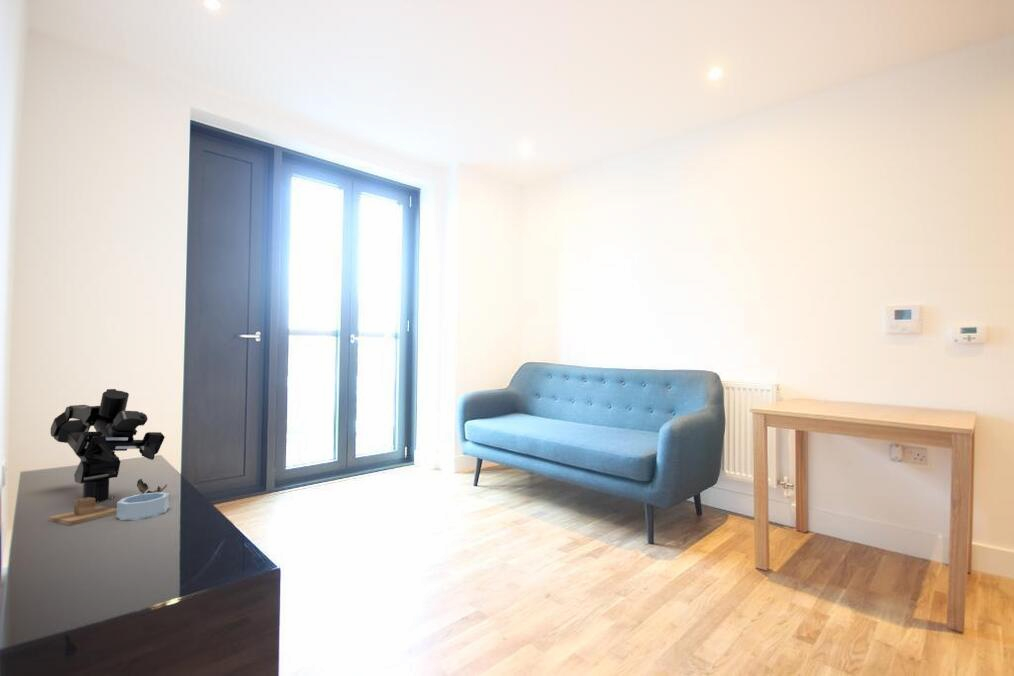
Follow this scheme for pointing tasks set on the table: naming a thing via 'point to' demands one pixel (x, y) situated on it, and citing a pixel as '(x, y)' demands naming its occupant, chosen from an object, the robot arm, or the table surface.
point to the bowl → (142, 506)
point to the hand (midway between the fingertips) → (133, 458)
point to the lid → (83, 512)
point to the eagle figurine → (144, 487)
